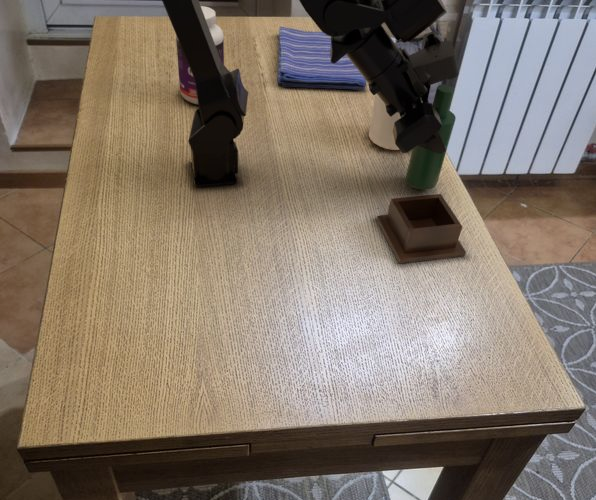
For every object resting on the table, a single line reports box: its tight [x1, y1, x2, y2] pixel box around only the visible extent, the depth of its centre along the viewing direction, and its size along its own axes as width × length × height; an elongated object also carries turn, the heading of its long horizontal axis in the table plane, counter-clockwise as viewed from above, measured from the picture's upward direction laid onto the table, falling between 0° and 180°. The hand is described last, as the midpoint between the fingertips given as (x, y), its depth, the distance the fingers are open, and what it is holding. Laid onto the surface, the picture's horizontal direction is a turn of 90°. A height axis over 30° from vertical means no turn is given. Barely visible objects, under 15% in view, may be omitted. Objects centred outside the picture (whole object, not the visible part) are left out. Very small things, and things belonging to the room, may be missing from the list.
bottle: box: [405, 84, 456, 191], centre depth 92 cm, size 5×5×15 cm
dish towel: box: [277, 26, 367, 91], centre depth 123 cm, size 17×24×3 cm
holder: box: [375, 193, 467, 265], centre depth 88 cm, size 10×10×4 cm
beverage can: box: [368, 94, 401, 151], centre depth 102 cm, size 8×8×12 cm
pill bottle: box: [175, 5, 225, 105], centre depth 107 cm, size 8×8×14 cm
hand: (440, 142), depth 92 cm, fingers closed on bottle, 5 cm apart
